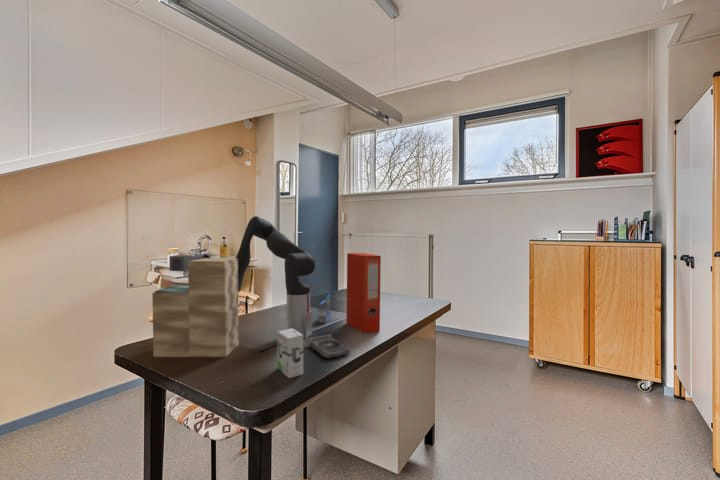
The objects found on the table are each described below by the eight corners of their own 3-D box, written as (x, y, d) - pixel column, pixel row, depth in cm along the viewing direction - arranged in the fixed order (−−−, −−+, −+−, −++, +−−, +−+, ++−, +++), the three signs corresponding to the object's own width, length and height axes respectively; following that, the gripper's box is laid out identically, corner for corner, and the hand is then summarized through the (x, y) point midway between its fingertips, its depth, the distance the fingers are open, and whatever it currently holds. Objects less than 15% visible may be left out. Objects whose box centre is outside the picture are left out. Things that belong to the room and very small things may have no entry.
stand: (173, 344, 122) (172, 258, 121) (238, 344, 122) (237, 258, 121) (153, 356, 110) (151, 261, 109) (225, 357, 110) (224, 261, 109)
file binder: (362, 321, 153) (362, 252, 152) (380, 331, 138) (380, 255, 137) (346, 323, 150) (346, 253, 149) (362, 334, 134) (363, 256, 133)
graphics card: (300, 339, 119) (330, 332, 125) (301, 349, 119) (331, 342, 125) (319, 354, 105) (352, 347, 111) (319, 366, 105) (352, 358, 111)
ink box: (276, 368, 101) (276, 330, 101) (291, 364, 104) (291, 327, 103) (288, 378, 94) (288, 337, 94) (304, 374, 97) (304, 334, 97)
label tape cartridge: (322, 317, 159) (322, 292, 159) (330, 318, 159) (330, 292, 158) (318, 322, 150) (318, 296, 150) (326, 323, 150) (326, 296, 150)
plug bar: (200, 263, 135) (200, 251, 135) (212, 263, 135) (212, 251, 135) (169, 270, 113) (169, 256, 113) (184, 270, 113) (184, 256, 113)
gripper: (202, 264, 146) (184, 247, 131) (234, 265, 146) (219, 247, 131) (198, 280, 143) (179, 265, 128) (231, 281, 143) (215, 265, 128)
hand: (200, 256), depth 129 cm, fingers closed on plug bar, 3 cm apart
